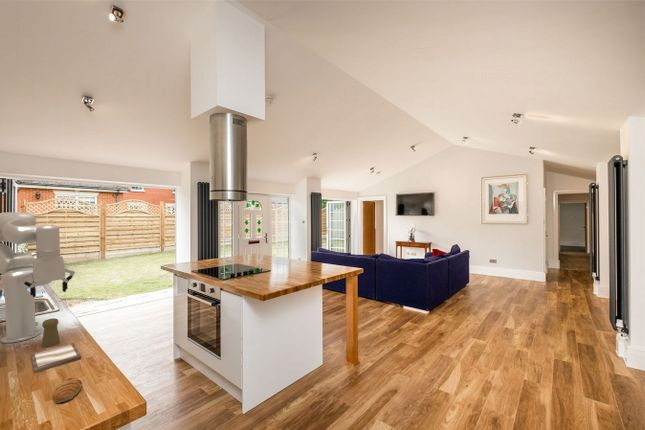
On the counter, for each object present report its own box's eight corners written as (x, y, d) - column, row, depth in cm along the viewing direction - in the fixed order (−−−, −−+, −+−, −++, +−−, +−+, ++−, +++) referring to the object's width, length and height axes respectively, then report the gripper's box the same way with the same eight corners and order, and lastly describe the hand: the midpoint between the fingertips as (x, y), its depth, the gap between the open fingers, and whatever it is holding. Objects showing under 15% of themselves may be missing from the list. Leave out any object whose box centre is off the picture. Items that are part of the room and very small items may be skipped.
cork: (48, 348, 124) (48, 322, 124) (37, 347, 126) (36, 321, 125) (64, 342, 130) (63, 317, 130) (53, 341, 131) (52, 316, 131)
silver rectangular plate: (31, 356, 117) (30, 353, 117) (73, 345, 127) (73, 342, 127) (34, 372, 105) (34, 369, 105) (81, 358, 114) (81, 355, 114)
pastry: (78, 399, 89) (77, 387, 89) (48, 408, 86) (48, 395, 86) (83, 384, 97) (82, 373, 97) (56, 392, 94) (55, 380, 94)
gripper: (20, 257, 118) (22, 300, 119) (76, 252, 132) (77, 290, 132) (18, 256, 123) (20, 297, 123) (72, 251, 136) (73, 288, 137)
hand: (49, 293), depth 128 cm, fingers open, 9 cm apart
